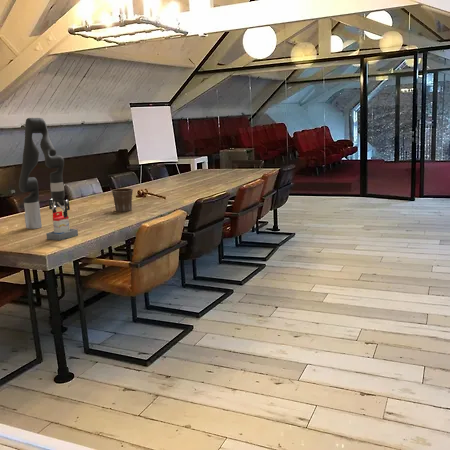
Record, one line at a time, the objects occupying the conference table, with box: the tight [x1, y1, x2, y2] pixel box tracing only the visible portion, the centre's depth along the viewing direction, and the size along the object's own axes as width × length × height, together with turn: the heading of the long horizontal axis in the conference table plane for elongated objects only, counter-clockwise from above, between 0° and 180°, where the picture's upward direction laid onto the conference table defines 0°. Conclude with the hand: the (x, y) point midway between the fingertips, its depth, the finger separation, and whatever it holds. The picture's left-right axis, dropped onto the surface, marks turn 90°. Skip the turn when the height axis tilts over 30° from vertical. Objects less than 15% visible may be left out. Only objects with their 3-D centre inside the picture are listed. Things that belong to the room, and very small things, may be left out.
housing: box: [46, 228, 79, 242], centre depth 293 cm, size 11×15×4 cm
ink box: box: [52, 210, 71, 234], centre depth 292 cm, size 8×5×15 cm, turn 157°
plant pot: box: [111, 187, 134, 213], centre depth 373 cm, size 16×16×16 cm
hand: (60, 216), depth 291 cm, fingers open, 8 cm apart
